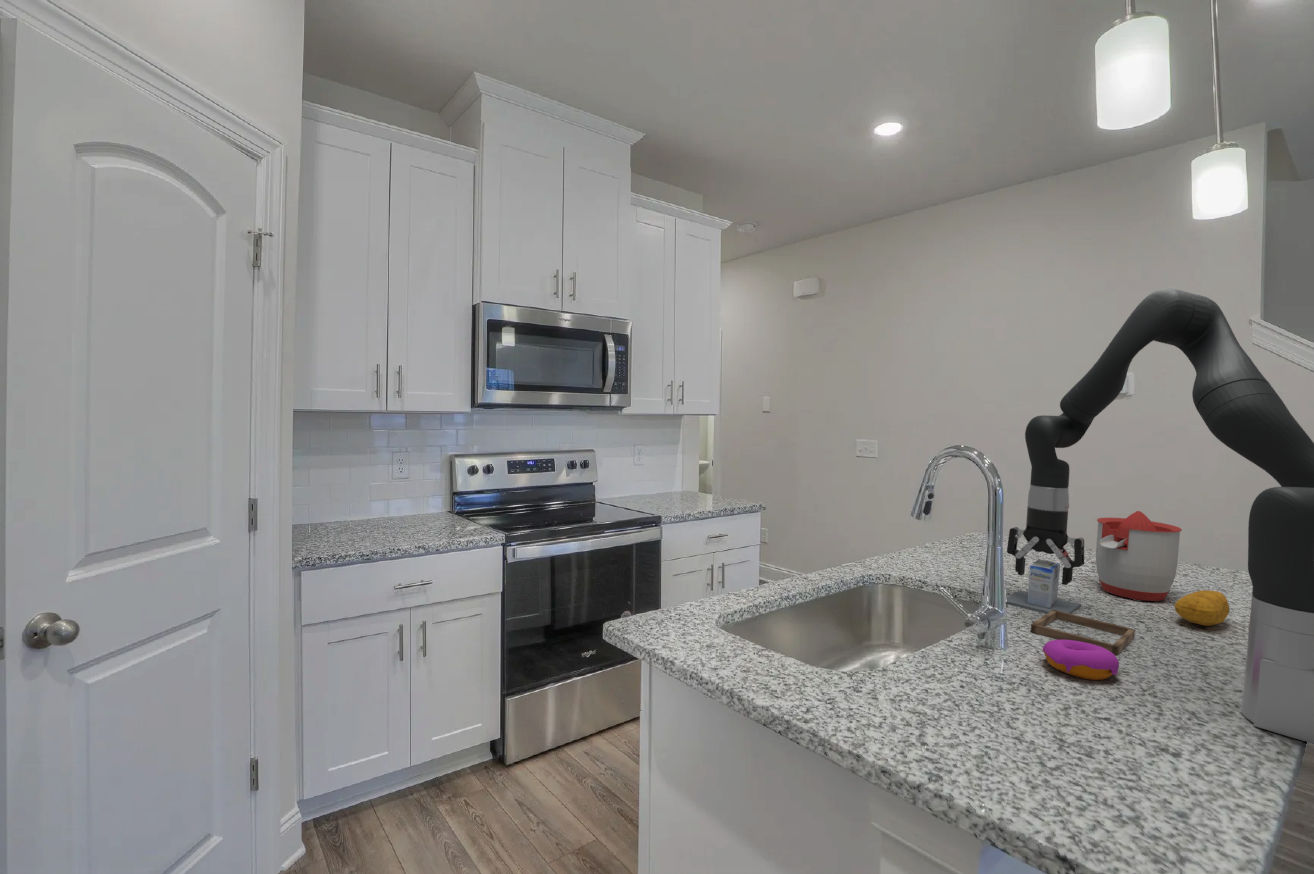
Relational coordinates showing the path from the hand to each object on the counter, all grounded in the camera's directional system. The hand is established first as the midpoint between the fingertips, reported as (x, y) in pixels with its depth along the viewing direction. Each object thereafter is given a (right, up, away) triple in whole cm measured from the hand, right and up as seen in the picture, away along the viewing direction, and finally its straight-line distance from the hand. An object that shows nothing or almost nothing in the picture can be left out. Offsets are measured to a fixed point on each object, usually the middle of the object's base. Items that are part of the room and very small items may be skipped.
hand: (1042, 579), depth 133 cm
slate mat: (0, -6, 0) cm, 6 cm away
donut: (-15, -8, -33) cm, 37 cm away
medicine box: (0, -5, 0) cm, 5 cm away
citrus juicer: (+27, -6, +9) cm, 29 cm away
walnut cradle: (-3, -7, -17) cm, 19 cm away
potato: (+27, -7, -9) cm, 29 cm away
